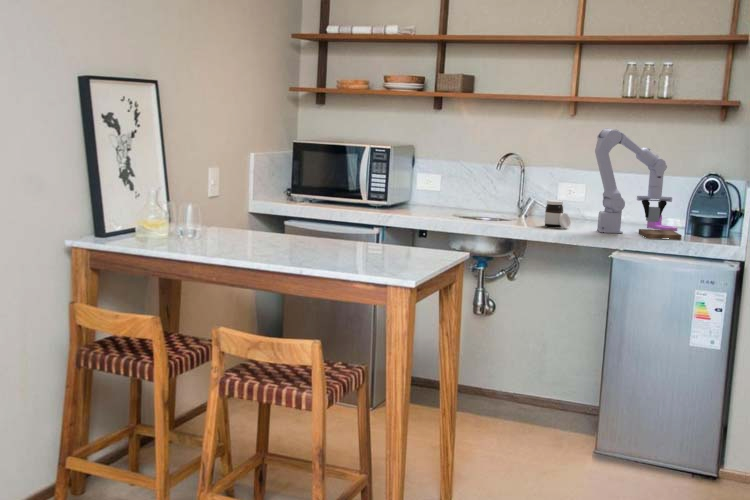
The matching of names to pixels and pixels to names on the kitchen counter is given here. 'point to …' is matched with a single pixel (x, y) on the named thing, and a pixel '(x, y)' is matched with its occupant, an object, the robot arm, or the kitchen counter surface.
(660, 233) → the walnut board
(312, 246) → the kitchen counter surface
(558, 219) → the spread jar
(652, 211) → the slate block
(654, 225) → the bracket
